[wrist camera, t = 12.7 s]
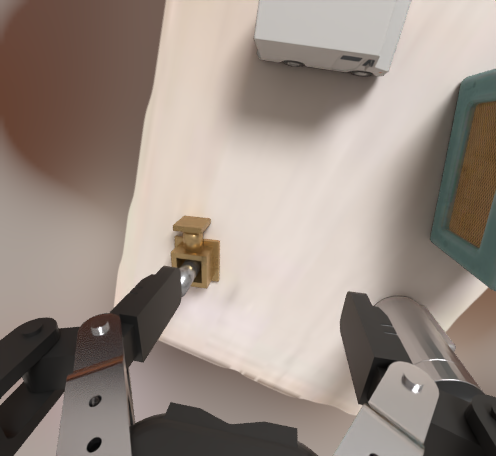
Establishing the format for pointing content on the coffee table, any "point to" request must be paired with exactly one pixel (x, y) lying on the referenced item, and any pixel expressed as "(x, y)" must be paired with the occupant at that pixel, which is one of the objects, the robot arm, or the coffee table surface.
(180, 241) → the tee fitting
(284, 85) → the coffee table surface
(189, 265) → the silver round-ended rod
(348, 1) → the toy vehicle
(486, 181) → the radio
